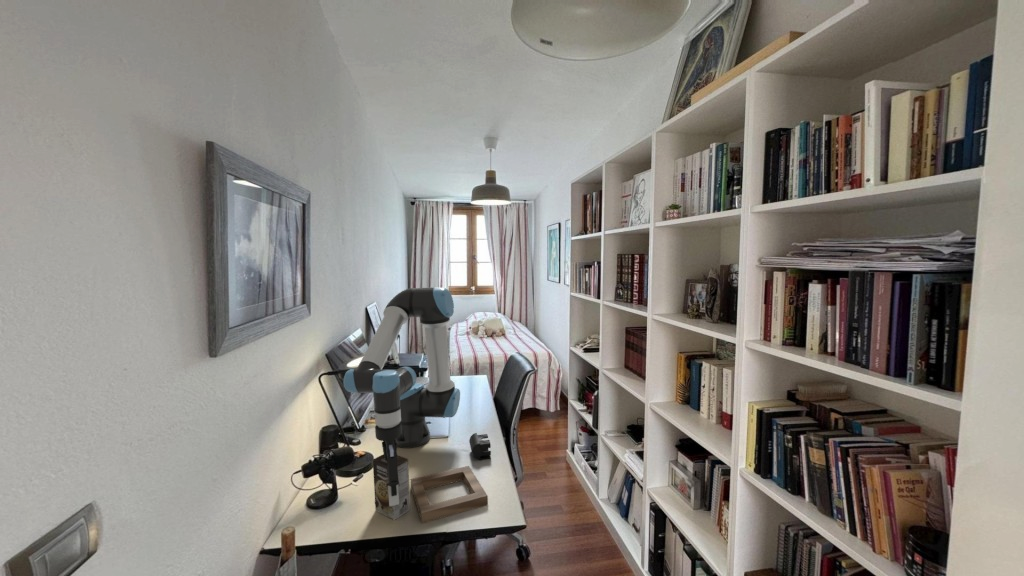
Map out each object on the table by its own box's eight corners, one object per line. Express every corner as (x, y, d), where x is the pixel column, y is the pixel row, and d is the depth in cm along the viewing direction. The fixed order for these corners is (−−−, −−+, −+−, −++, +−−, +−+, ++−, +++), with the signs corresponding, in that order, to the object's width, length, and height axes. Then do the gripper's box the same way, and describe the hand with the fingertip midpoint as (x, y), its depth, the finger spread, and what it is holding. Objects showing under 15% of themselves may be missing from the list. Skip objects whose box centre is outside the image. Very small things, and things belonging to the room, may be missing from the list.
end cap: (469, 450, 161) (468, 433, 161) (487, 447, 163) (486, 431, 162) (472, 462, 151) (471, 444, 151) (491, 459, 153) (490, 442, 152)
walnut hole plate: (411, 487, 135) (410, 479, 135) (469, 473, 143) (468, 465, 143) (422, 523, 117) (421, 513, 117) (487, 505, 124) (487, 495, 124)
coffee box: (374, 510, 123) (371, 459, 122) (391, 500, 128) (389, 450, 127) (394, 521, 118) (391, 467, 117) (411, 509, 123) (408, 458, 122)
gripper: (372, 412, 131) (376, 478, 132) (378, 441, 109) (382, 520, 111) (396, 408, 133) (399, 473, 135) (406, 436, 112) (410, 512, 114)
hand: (392, 494), depth 123 cm, fingers closed on coffee box, 11 cm apart
